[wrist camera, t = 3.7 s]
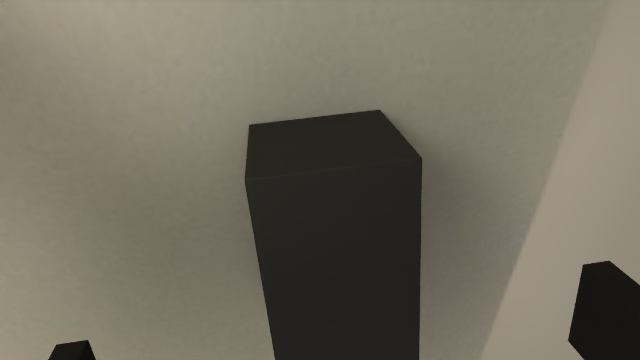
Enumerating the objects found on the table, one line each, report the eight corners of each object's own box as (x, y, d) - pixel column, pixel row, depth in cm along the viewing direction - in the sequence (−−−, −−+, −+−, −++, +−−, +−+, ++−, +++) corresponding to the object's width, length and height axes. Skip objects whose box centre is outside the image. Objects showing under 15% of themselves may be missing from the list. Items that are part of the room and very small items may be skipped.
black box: (380, 109, 17) (422, 157, 13) (384, 279, 21) (419, 365, 16) (249, 124, 17) (244, 179, 12) (275, 294, 20) (279, 386, 16)
